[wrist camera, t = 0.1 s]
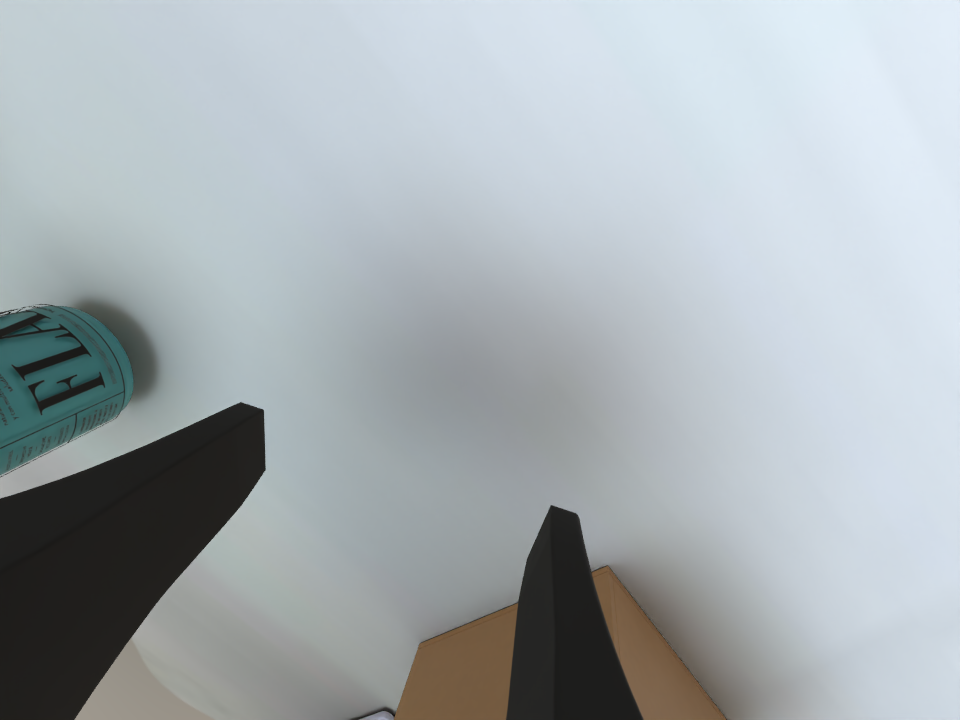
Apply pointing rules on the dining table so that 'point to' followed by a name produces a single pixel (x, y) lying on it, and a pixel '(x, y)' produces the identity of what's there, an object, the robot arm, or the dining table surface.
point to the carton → (488, 661)
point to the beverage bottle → (56, 380)
